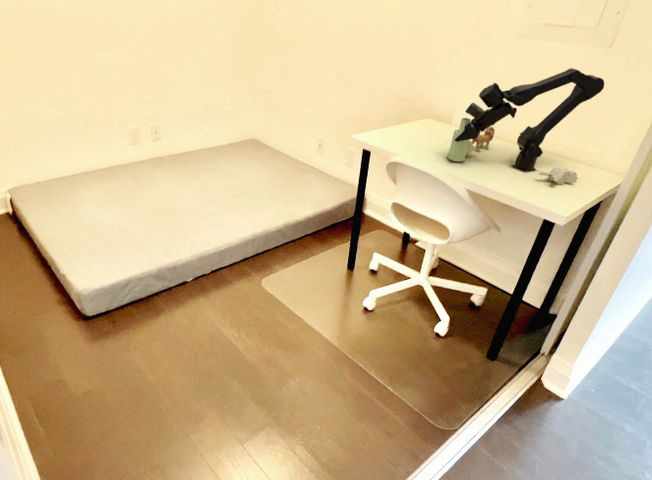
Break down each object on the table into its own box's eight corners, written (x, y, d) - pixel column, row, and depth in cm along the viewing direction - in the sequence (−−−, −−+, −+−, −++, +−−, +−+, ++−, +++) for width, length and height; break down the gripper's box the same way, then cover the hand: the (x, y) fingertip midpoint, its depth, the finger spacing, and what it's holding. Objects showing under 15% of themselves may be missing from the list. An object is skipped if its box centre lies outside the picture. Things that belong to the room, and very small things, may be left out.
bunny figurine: (586, 173, 160) (561, 174, 154) (579, 186, 163) (555, 187, 157) (563, 164, 167) (539, 165, 161) (557, 177, 170) (533, 178, 164)
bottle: (466, 161, 176) (477, 121, 167) (449, 160, 176) (459, 121, 167) (461, 156, 181) (472, 117, 172) (446, 155, 182) (455, 116, 172)
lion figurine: (482, 144, 198) (487, 124, 193) (492, 147, 195) (499, 127, 189) (464, 150, 190) (470, 129, 185) (475, 154, 187) (481, 133, 182)
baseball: (474, 156, 184) (479, 141, 180) (462, 158, 181) (466, 143, 177) (462, 151, 189) (466, 136, 185) (450, 153, 186) (454, 138, 182)
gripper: (488, 92, 169) (453, 116, 180) (477, 101, 156) (440, 127, 167) (503, 116, 171) (467, 139, 182) (493, 127, 157) (455, 151, 169)
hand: (457, 138), depth 175 cm, fingers closed on bottle, 7 cm apart
